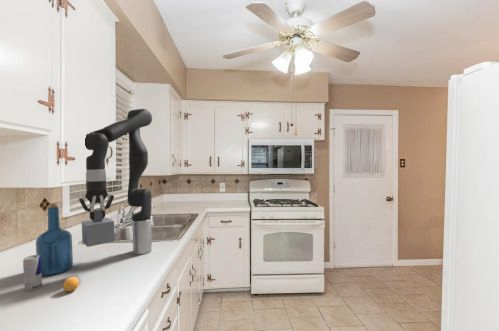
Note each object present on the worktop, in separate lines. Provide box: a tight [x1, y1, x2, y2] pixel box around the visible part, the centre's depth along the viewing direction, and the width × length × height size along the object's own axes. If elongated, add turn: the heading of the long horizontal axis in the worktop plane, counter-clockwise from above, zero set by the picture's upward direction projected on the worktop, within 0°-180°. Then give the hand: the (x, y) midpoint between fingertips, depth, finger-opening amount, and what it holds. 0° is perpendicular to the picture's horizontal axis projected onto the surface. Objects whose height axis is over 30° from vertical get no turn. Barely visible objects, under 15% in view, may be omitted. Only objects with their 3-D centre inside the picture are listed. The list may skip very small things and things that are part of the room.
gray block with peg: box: [81, 208, 115, 248], centre depth 116 cm, size 10×10×14 cm
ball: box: [62, 276, 80, 292], centre depth 101 cm, size 5×5×5 cm
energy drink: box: [22, 254, 43, 292], centre depth 103 cm, size 5×5×12 cm
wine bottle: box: [35, 203, 74, 276], centre depth 119 cm, size 14×13×30 cm
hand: (97, 219), depth 115 cm, fingers closed on gray block with peg, 3 cm apart
